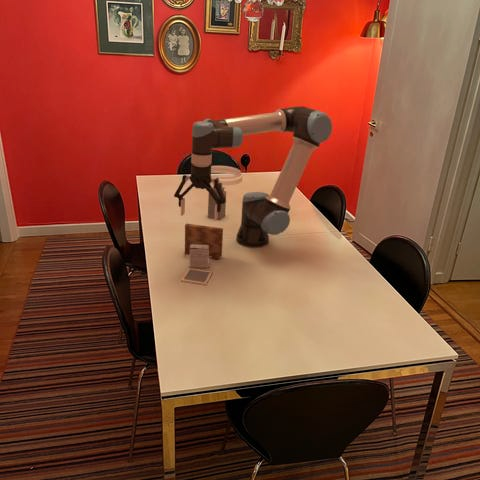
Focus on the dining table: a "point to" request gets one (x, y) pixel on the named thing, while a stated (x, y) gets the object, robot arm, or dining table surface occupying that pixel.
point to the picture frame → (196, 276)
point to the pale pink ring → (229, 170)
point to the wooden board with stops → (204, 239)
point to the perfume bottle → (212, 203)
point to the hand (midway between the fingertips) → (199, 217)
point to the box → (199, 256)
